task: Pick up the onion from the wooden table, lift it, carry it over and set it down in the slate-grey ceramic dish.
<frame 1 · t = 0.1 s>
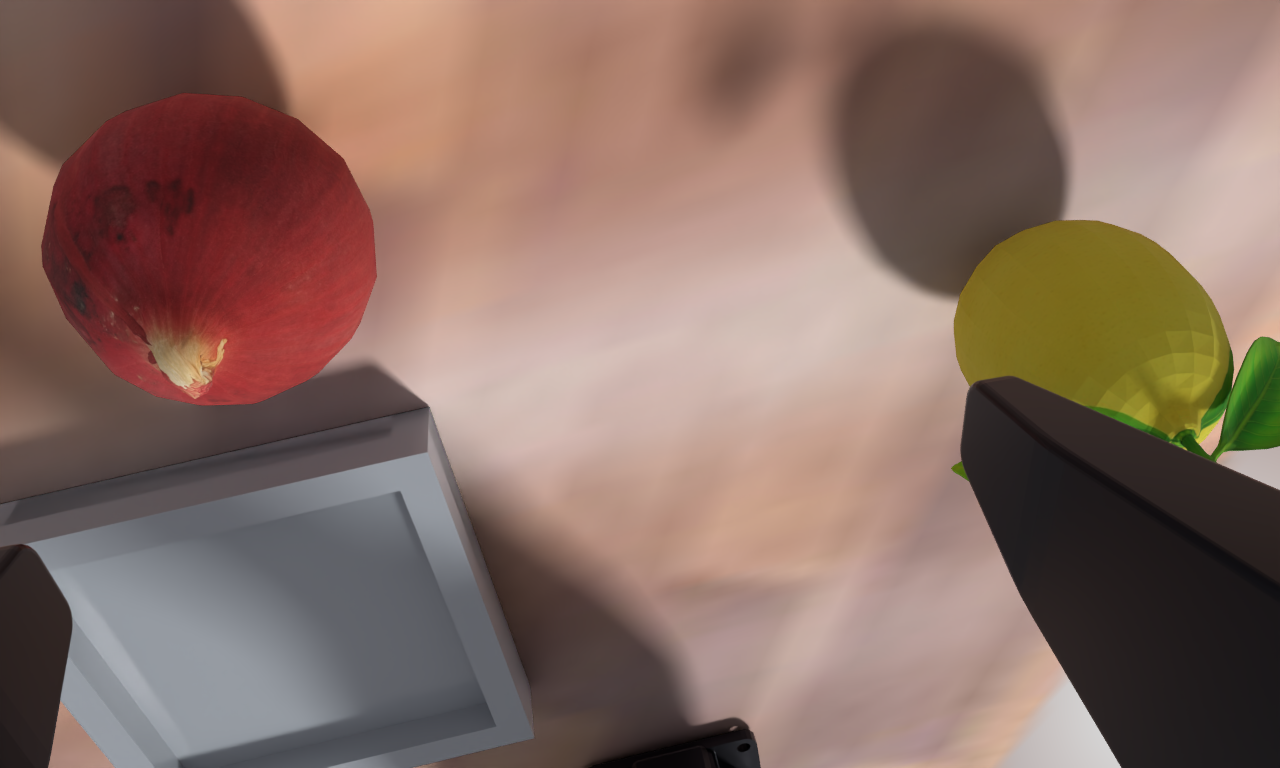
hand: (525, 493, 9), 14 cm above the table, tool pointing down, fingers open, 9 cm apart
lemon: (998, 273, 27), on the table
onion: (255, 176, 22), on the table
dish: (290, 609, 29), on the table
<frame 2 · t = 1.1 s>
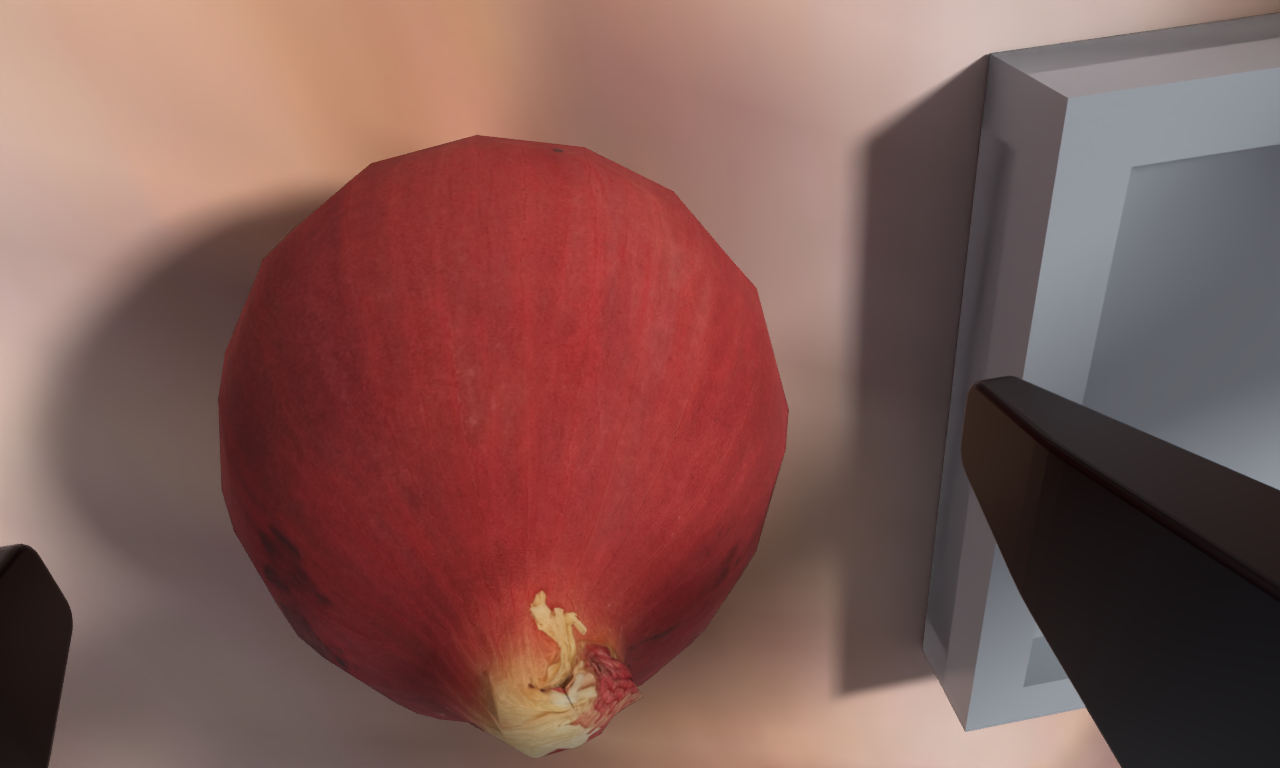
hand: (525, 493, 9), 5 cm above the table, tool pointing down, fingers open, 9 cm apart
onion: (496, 259, 14), on the table
dish: (1278, 356, 17), on the table
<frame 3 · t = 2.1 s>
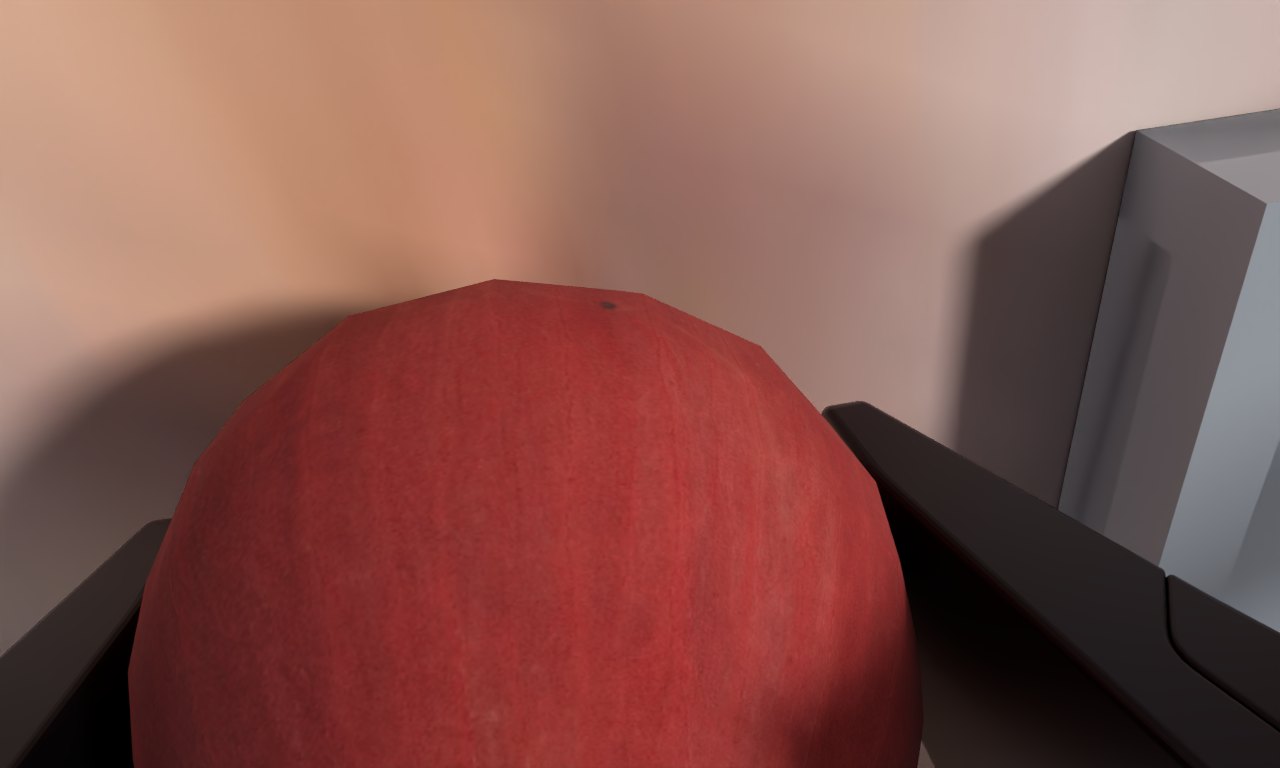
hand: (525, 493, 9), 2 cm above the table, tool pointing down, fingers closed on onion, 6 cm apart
onion: (512, 380, 11), on the table, touching gripper
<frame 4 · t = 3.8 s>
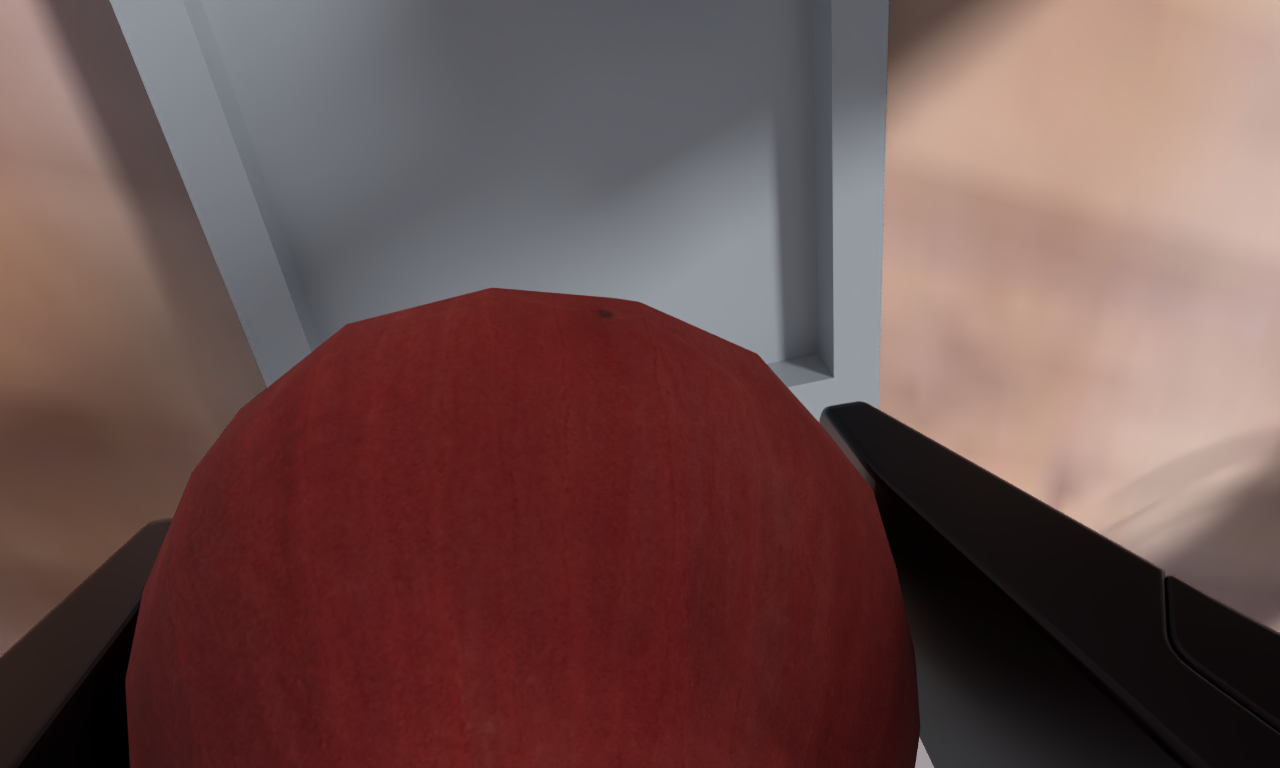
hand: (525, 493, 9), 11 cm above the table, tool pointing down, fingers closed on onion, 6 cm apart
onion: (510, 386, 11), point 9 cm above the table, touching gripper
dish: (549, 159, 19), on the table
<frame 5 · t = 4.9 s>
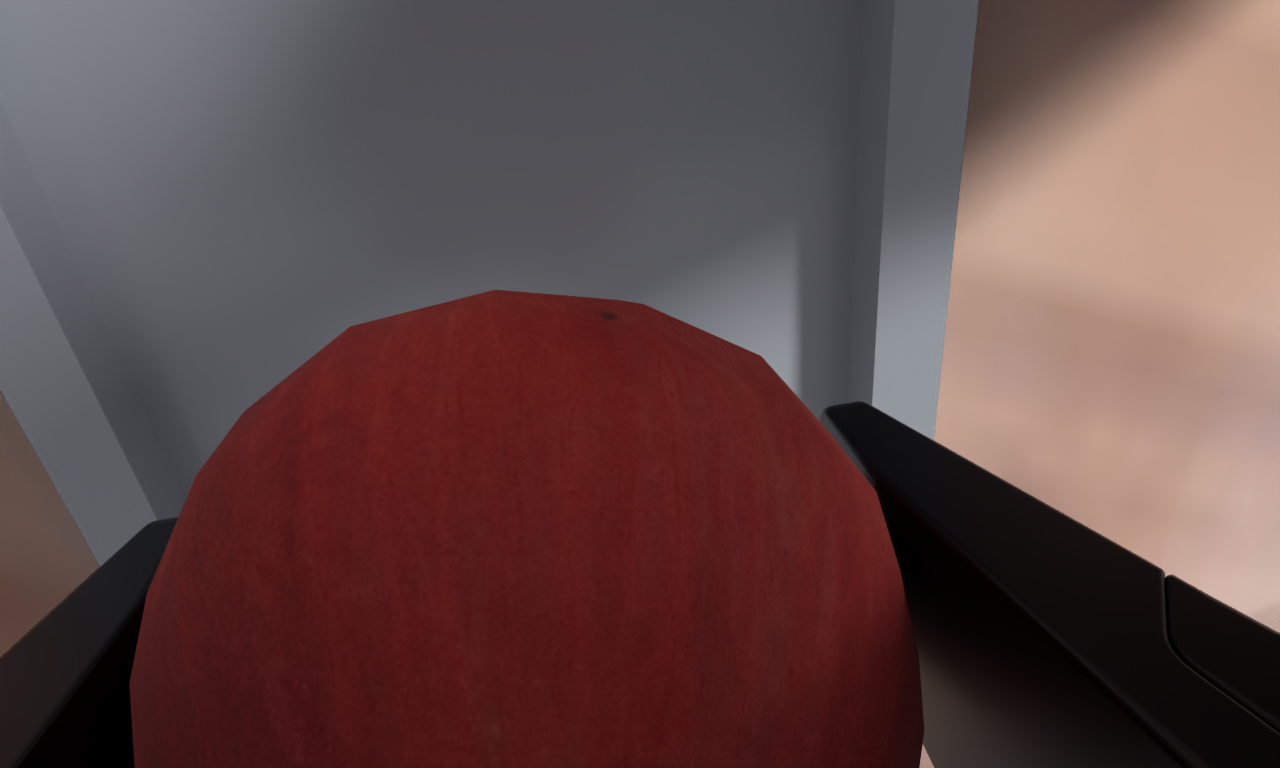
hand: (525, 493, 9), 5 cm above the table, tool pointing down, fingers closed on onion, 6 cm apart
onion: (512, 387, 11), point 3 cm above the table, touching gripper
dish: (494, 257, 14), on the table
when the fingers open (4 cm above the table, at t = 5.7 s): onion drops 1 cm, resting on dish.
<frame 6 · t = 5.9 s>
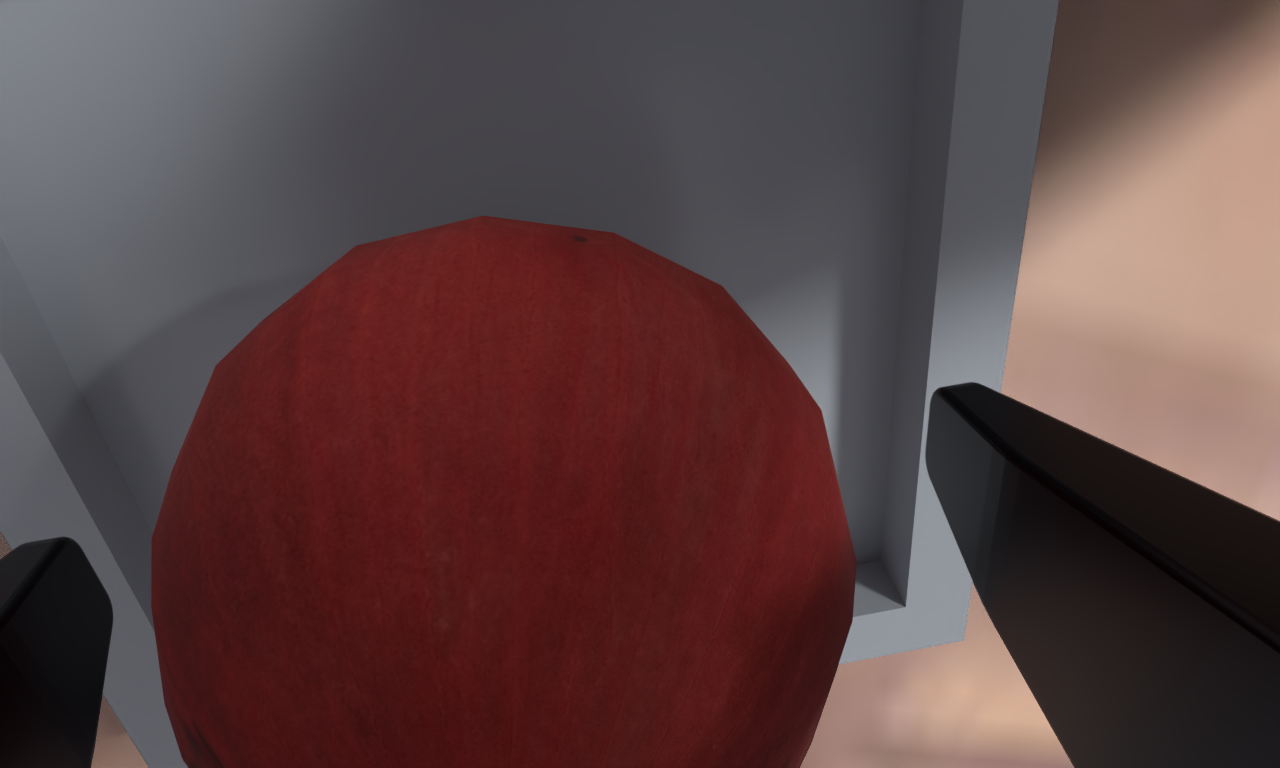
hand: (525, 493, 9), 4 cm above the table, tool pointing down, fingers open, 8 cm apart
onion: (517, 333, 12), point 1 cm above the table, touching dish
dish: (504, 299, 13), on the table
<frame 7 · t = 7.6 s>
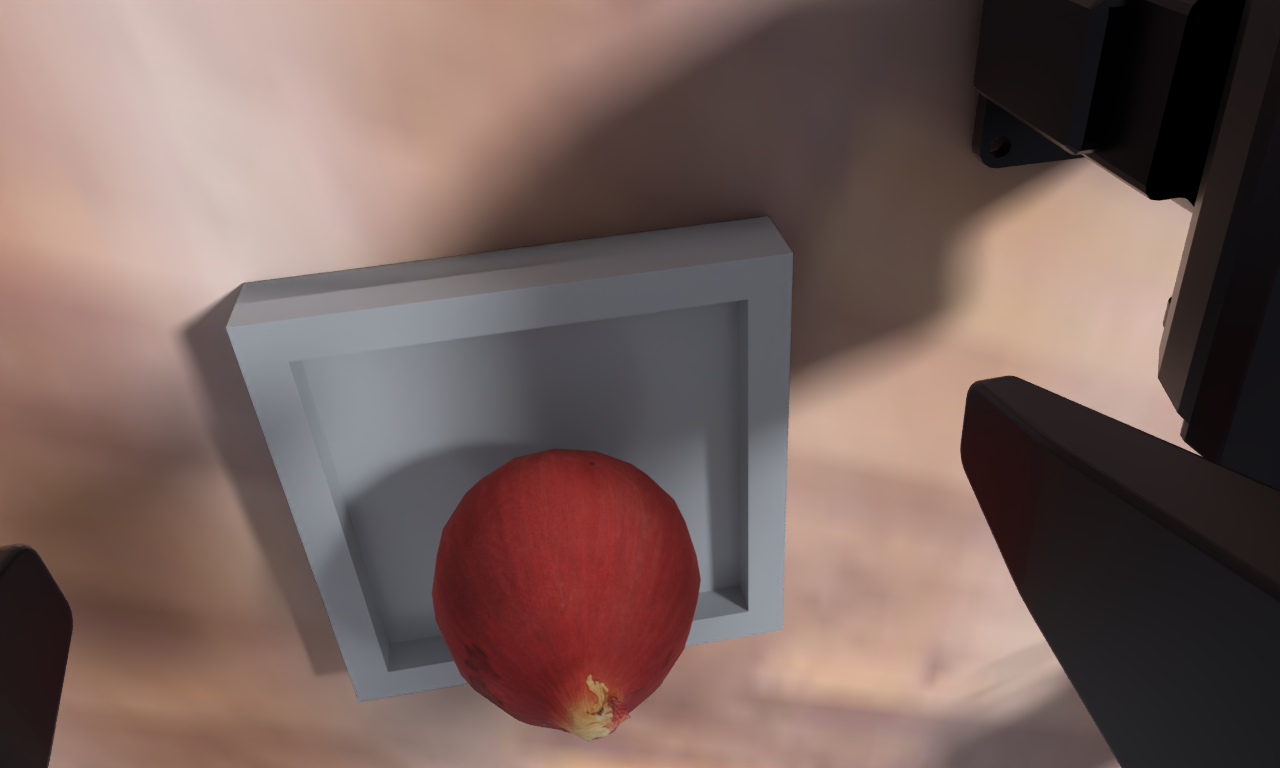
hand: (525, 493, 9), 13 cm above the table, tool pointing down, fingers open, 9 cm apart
onion: (550, 474, 25), point 1 cm above the table, touching dish
dish: (544, 454, 25), on the table
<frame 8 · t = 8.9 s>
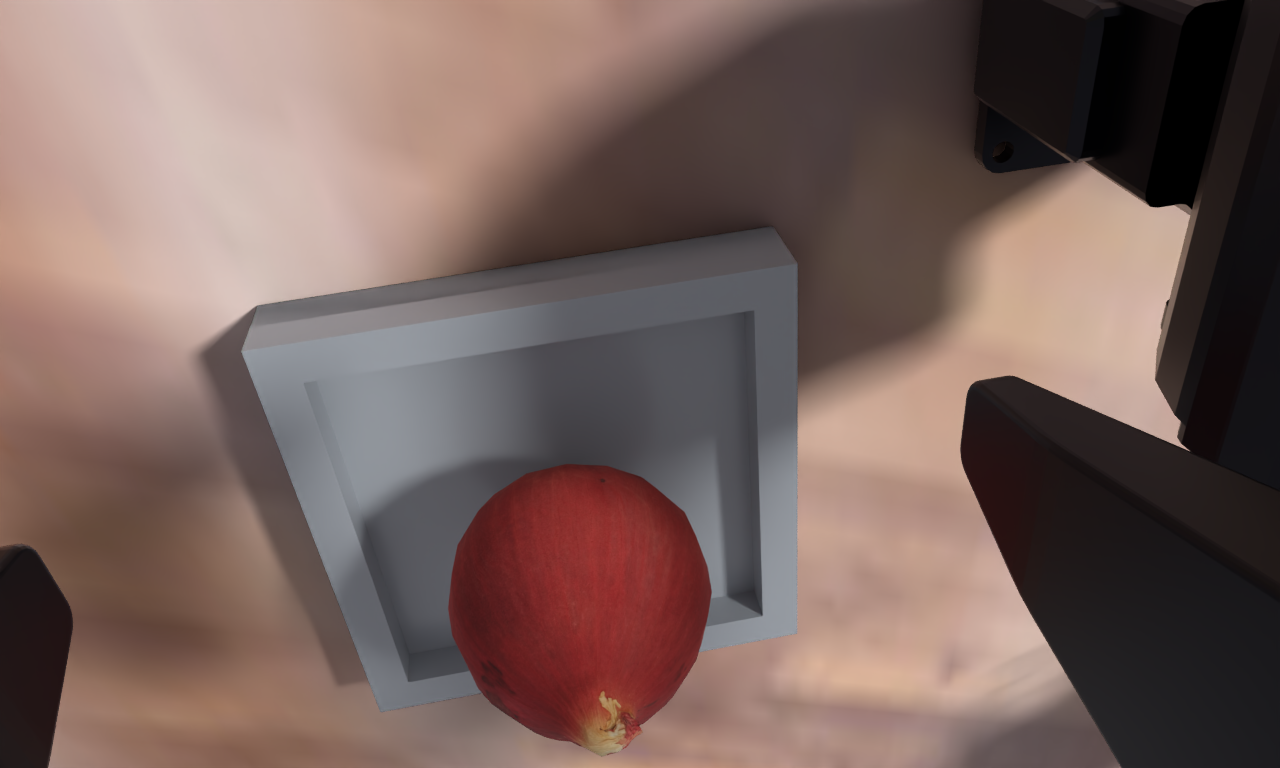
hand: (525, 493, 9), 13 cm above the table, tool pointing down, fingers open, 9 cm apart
onion: (563, 484, 25), point 1 cm above the table, touching dish
dish: (556, 465, 26), on the table
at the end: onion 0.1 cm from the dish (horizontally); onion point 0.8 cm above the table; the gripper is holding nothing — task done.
